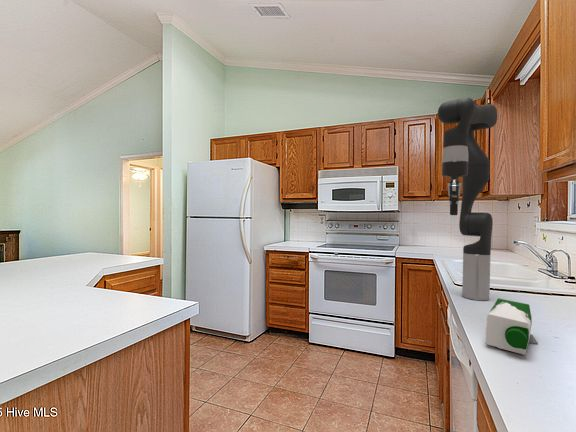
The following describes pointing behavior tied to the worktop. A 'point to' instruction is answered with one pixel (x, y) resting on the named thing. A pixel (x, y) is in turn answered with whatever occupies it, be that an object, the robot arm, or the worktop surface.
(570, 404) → the worktop surface
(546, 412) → the worktop surface
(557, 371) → the worktop surface
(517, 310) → the soya milk
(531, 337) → the rubber pad
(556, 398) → the worktop surface
